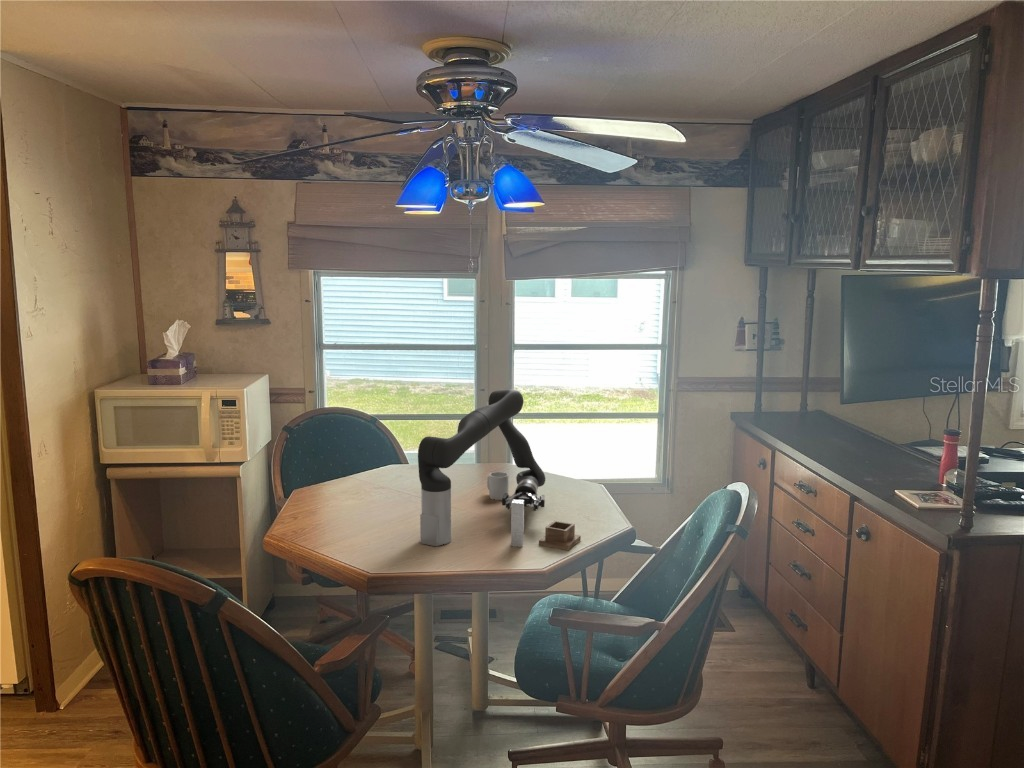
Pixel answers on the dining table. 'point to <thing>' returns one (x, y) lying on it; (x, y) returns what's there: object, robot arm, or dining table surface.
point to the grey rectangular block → (517, 523)
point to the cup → (498, 484)
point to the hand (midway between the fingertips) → (521, 507)
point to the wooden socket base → (560, 536)
